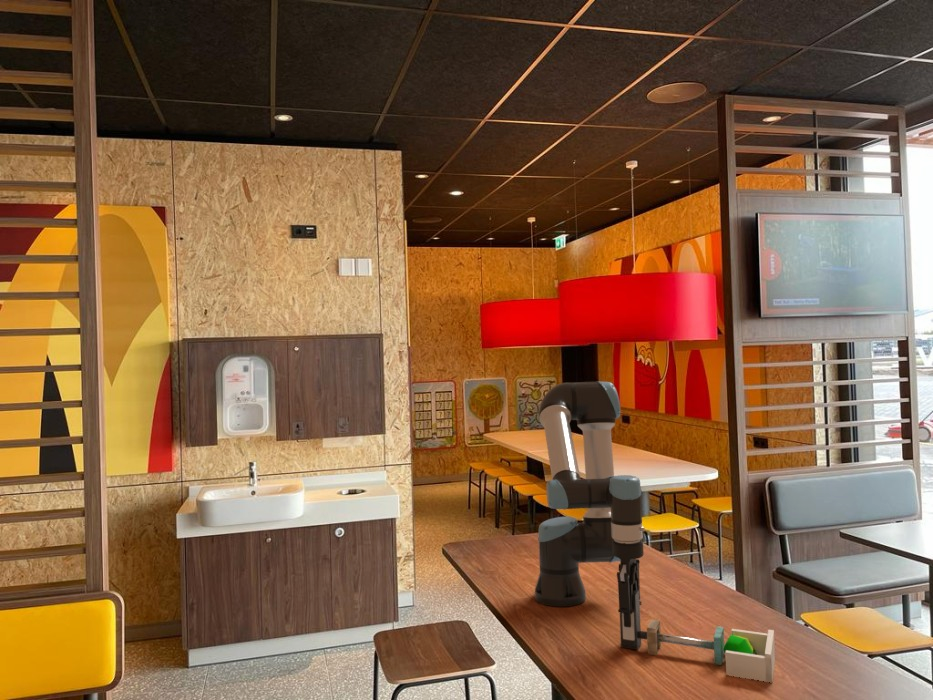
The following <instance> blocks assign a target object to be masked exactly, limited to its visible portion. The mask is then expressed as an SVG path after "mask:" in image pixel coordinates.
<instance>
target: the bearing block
mask: <svg viewBox="0 0 933 700" xmlns="http://www.w3.org/2000/svg"><path fill="white" fill-rule="evenodd" d="M646 632H647V655H653V656H657V655H658V653H659V652H658V649H661V647H662V642H659V641H657V633H660V634H662V633H661V620H657V619H650V622H649V623H648V625H647V627H646Z"/></svg>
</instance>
